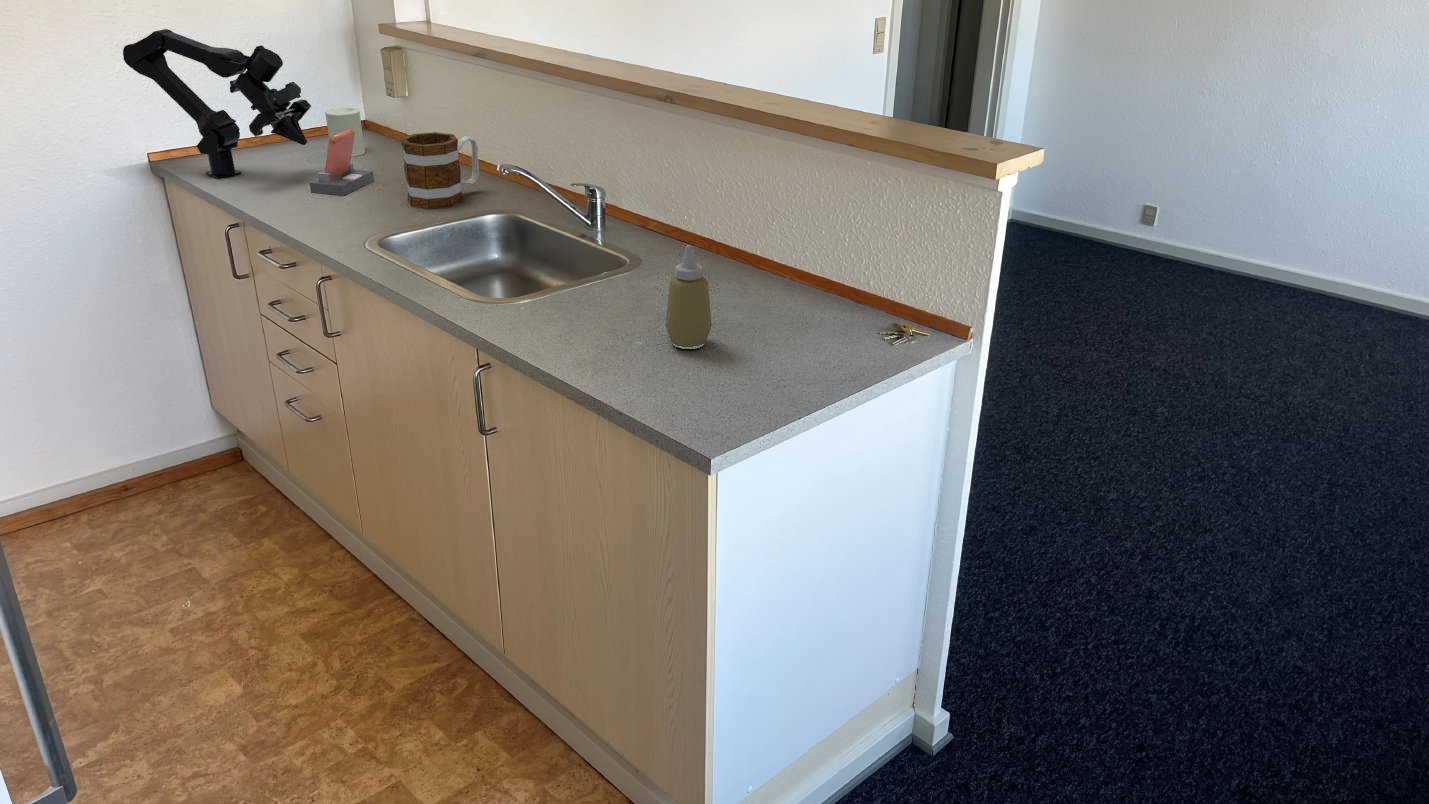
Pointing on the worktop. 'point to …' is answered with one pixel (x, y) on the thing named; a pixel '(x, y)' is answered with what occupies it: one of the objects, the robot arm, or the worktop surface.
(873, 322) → the worktop surface
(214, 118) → the robot arm
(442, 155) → the mug
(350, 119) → the can
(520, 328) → the worktop surface
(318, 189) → the grey holder stand
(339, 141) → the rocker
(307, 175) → the worktop surface
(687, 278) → the squeeze bottle
